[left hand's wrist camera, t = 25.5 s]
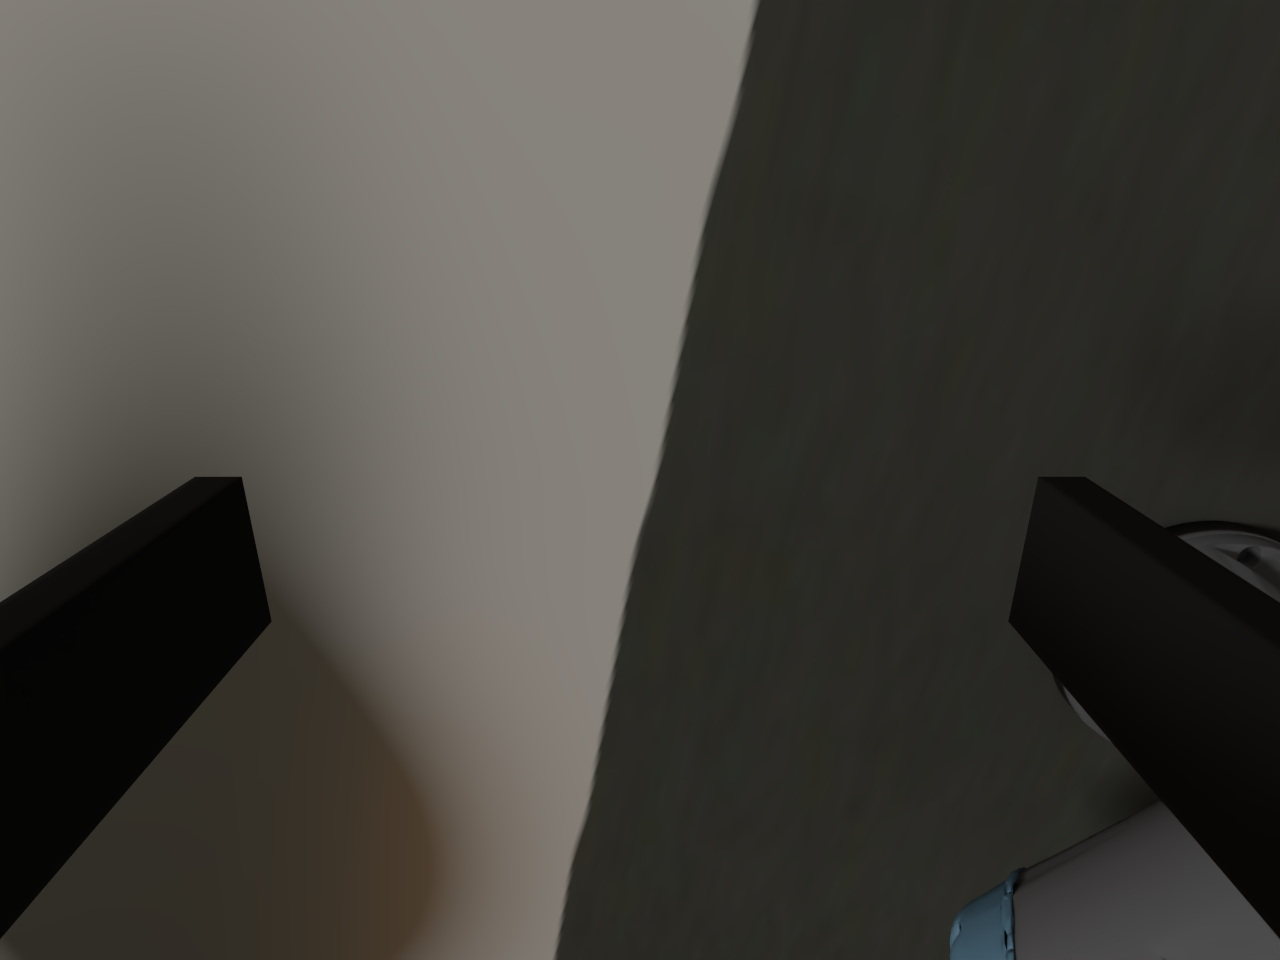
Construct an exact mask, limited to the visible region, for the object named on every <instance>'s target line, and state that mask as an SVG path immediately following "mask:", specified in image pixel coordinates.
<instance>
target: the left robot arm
mask: <svg viewBox="0 0 1280 960" xmlns="http://www.w3.org/2000/svg"><path fill="white" fill-rule="evenodd" d="M270 623H271V616H270V612H269V607H268V602H267V597H266V593H265V588H264V583H263V578H262V573H261V568H260V563H259V559H258V554H257V549H256V544H255V539H254V534H253V530H252V525H251V520H250V515H249V510H248V505H247V501H246V496H245V491H244V486H243V481H242V477H194V478H193V479H191V480H189V481H188V482H186V483H185V484H183V485H182V486H180V487H179V488H177V489H176V490H174V491H172V492H171V493H169V494H168V495H166V496H165V497H163V498H162V499H160V500H159V501H157V502H155V503H154V504H152V505H151V506H149V507H148V508H146V509H144V510H143V511H141V512H140V513H138V514H137V515H135V516H134V517H132V518H130V519H129V520H127V521H126V522H124V523H123V524H121V525H120V526H118V527H117V528H115V529H113V530H112V531H110V532H109V533H107V534H106V535H104V536H103V537H101V538H99V539H98V540H96V541H95V542H93V543H92V544H90V545H89V546H87V547H85V548H84V549H82V550H81V551H79V552H78V553H76V554H75V555H73V556H71V557H70V558H68V559H67V560H65V561H64V562H62V563H61V564H59V565H58V566H56V567H54V568H53V569H51V570H50V571H48V572H47V573H45V574H44V575H42V576H40V577H39V578H37V579H36V580H34V581H33V582H31V583H30V584H28V585H27V586H25V587H23V588H22V589H20V590H19V591H17V592H16V593H14V594H13V595H11V596H9V597H8V598H6V599H5V600H3V601H2V602H0V939H1V937H2V936H3V935H4V934H5V933H6V932H7V930H8V929H9V928H10V927H11V926H12V925H13V923H14V922H15V921H16V920H17V919H18V918H19V916H20V915H21V914H22V913H23V912H24V910H25V909H26V908H27V907H28V906H29V905H30V903H31V902H32V901H33V900H34V899H35V898H36V896H37V895H38V894H39V893H40V892H41V891H42V889H43V888H44V887H45V886H46V885H47V884H48V882H49V881H50V880H51V879H52V878H53V877H54V875H55V874H56V873H57V872H58V871H59V870H60V868H61V867H62V866H63V865H64V864H65V862H66V861H67V860H68V859H69V858H70V857H71V855H72V854H73V853H74V852H75V851H76V850H77V848H78V847H79V846H80V845H81V844H82V843H83V841H84V840H85V839H86V838H87V837H88V836H89V834H90V833H91V832H92V831H93V830H94V829H95V827H96V826H97V825H98V824H99V823H100V821H101V820H102V819H103V818H104V817H105V816H106V815H107V813H108V812H109V811H110V810H111V809H112V807H113V806H114V805H115V804H116V803H117V802H118V800H119V799H120V798H121V797H122V796H123V795H124V793H125V792H126V791H127V790H128V789H129V788H130V786H131V785H132V784H133V783H134V782H135V781H136V779H137V778H138V777H139V776H140V775H141V774H142V772H143V771H144V770H145V769H146V768H147V767H148V765H149V764H150V763H151V762H152V761H153V760H154V758H155V757H156V756H157V755H158V754H159V753H160V751H161V750H162V749H163V748H164V747H165V745H166V744H167V743H168V742H169V741H170V740H171V738H172V737H173V736H174V735H175V734H176V733H177V731H178V730H179V729H180V728H181V727H182V726H183V724H184V723H185V722H186V721H187V720H188V719H189V717H190V716H191V715H192V714H193V713H194V712H195V710H196V709H197V708H198V707H199V706H200V705H201V703H202V702H203V701H204V700H205V699H206V697H207V696H208V695H209V694H210V693H211V692H212V690H213V689H214V688H215V687H216V686H217V685H218V683H219V682H220V681H221V680H222V679H223V678H224V676H225V675H226V674H227V673H228V672H229V671H230V669H231V668H232V667H233V666H234V665H235V664H236V662H237V661H238V660H239V659H240V658H241V657H242V655H243V654H244V653H245V652H246V651H247V650H248V648H249V647H250V646H251V645H252V644H253V642H254V641H255V640H256V639H257V638H258V637H259V635H260V634H261V633H262V632H263V631H264V630H265V628H266V627H267V626H268V625H269V624H270ZM1009 623H1010V624H1011V625H1012V626H1013V627H1014V628H1015V630H1016V631H1017V632H1018V633H1019V634H1020V635H1021V637H1022V638H1023V639H1024V640H1025V641H1026V643H1027V644H1028V645H1029V646H1030V647H1031V648H1032V650H1033V651H1034V652H1035V653H1036V654H1037V655H1038V657H1039V658H1040V659H1041V660H1042V661H1043V662H1044V664H1045V665H1046V666H1047V667H1048V668H1049V669H1050V671H1051V672H1052V673H1053V677H1054V680H1055V682H1056V685H1057V687H1058V689H1059V691H1060V692H1061V694H1062V696H1063V697H1064V699H1065V700H1066V701H1067V702H1068V703H1069V705H1070V706H1071V707H1072V708H1073V709H1074V711H1075V712H1076V713H1077V714H1078V715H1079V717H1080V718H1081V719H1082V720H1083V721H1084V722H1085V723H1086V724H1087V725H1088V726H1089V727H1091V728H1092V729H1093V730H1095V731H1096V732H1097V733H1098V734H1100V735H1101V736H1103V737H1104V738H1105V739H1107V740H1109V741H1110V742H1112V743H1113V744H1114V745H1115V747H1116V748H1117V749H1118V750H1119V751H1120V753H1121V754H1122V755H1123V756H1124V757H1125V758H1126V760H1127V761H1128V762H1129V763H1130V764H1131V765H1132V767H1133V768H1134V769H1135V770H1136V771H1137V772H1138V774H1139V775H1140V776H1141V777H1142V778H1143V779H1144V781H1145V782H1146V783H1147V784H1148V785H1149V786H1150V788H1151V789H1152V790H1153V791H1154V792H1155V793H1156V795H1157V796H1158V797H1159V798H1160V799H1161V801H1160V800H1159V801H1157V802H1155V803H1154V804H1152V805H1150V806H1148V807H1146V808H1144V809H1142V810H1140V811H1138V812H1136V813H1134V814H1132V815H1131V816H1129V817H1127V818H1125V819H1123V820H1121V821H1119V822H1117V823H1115V824H1113V825H1111V826H1109V827H1108V828H1106V829H1104V830H1102V831H1100V832H1098V833H1096V834H1094V835H1092V836H1090V837H1088V838H1087V839H1085V840H1083V841H1081V842H1079V843H1077V844H1075V845H1073V846H1071V847H1069V848H1067V849H1065V850H1063V851H1061V852H1059V853H1057V854H1055V855H1053V856H1051V857H1049V858H1047V859H1045V860H1043V861H1041V862H1039V863H1037V864H1035V865H1033V866H1031V867H1029V868H1027V869H1026V868H1025V867H1023V868H1020V869H1017V870H1015V871H1013V872H1012V873H1011V874H1010V875H1009V877H1008V878H1007V880H1005V881H1004V882H1002V883H1001V884H999V885H997V886H996V887H994V888H993V889H991V890H989V891H988V892H986V893H985V894H983V895H981V896H980V897H978V898H976V899H974V900H973V901H971V902H969V903H968V904H967V905H965V906H964V907H963V908H962V909H961V910H960V912H959V913H958V914H957V916H956V918H955V920H954V923H953V926H952V931H951V935H950V949H951V953H950V960H1280V543H1279V542H1277V541H1276V540H1274V539H1272V538H1270V537H1268V536H1267V535H1265V534H1263V533H1261V532H1259V531H1256V530H1254V529H1251V528H1249V527H1245V526H1241V525H1237V524H1232V523H1225V522H1195V523H1186V524H1181V525H1176V526H1172V527H1168V528H1163V527H1162V526H1160V525H1159V524H1157V523H1156V522H1154V521H1153V520H1151V519H1150V518H1148V517H1146V516H1145V515H1143V514H1142V513H1140V512H1139V511H1137V510H1136V509H1134V508H1132V507H1131V506H1129V505H1128V504H1126V503H1125V502H1123V501H1122V500H1120V499H1118V498H1117V497H1115V496H1114V495H1112V494H1111V493H1109V492H1108V491H1106V490H1105V489H1103V488H1101V487H1100V486H1098V485H1097V484H1095V483H1094V482H1092V481H1091V480H1089V479H1087V478H1086V477H1038V481H1037V486H1036V491H1035V496H1034V501H1033V505H1032V510H1031V515H1030V520H1029V525H1028V530H1027V534H1026V539H1025V544H1024V549H1023V554H1022V559H1021V563H1020V568H1019V573H1018V578H1017V583H1016V587H1015V592H1014V597H1013V602H1012V607H1011V612H1010V616H1009Z"/></svg>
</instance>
